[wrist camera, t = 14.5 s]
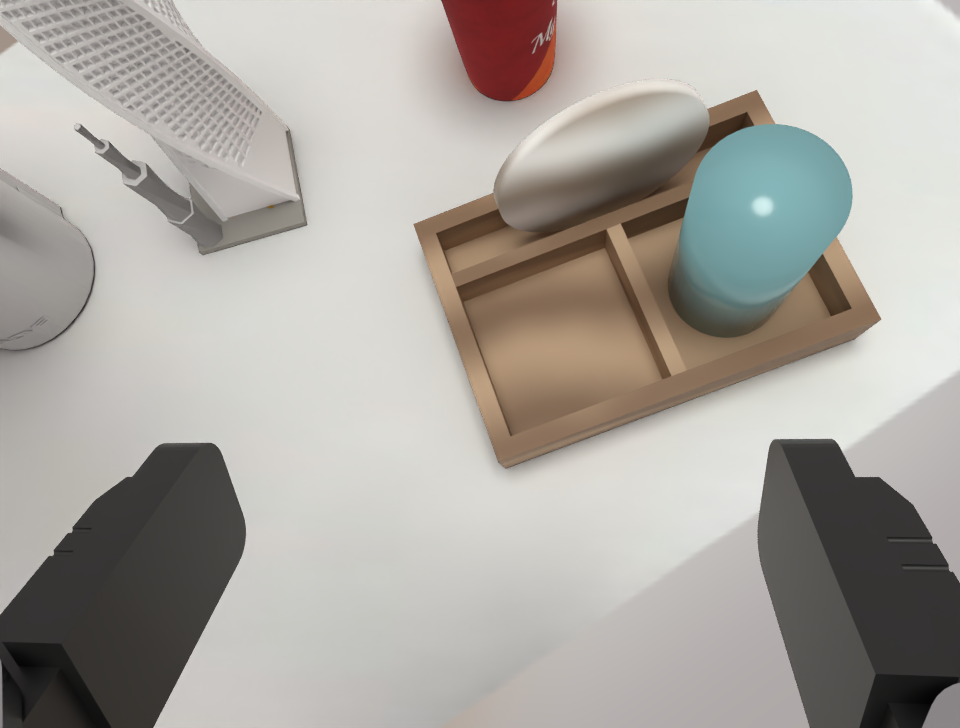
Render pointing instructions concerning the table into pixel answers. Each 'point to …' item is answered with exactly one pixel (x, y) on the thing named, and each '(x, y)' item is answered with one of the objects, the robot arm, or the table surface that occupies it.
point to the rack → (608, 274)
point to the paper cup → (505, 44)
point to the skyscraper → (172, 113)
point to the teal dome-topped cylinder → (755, 226)
